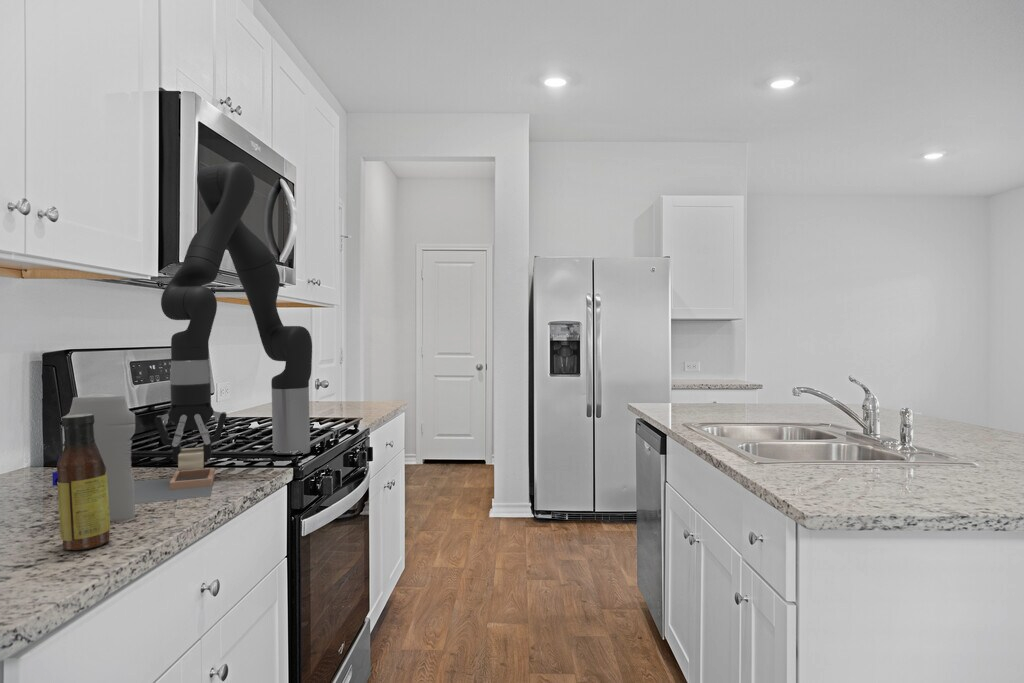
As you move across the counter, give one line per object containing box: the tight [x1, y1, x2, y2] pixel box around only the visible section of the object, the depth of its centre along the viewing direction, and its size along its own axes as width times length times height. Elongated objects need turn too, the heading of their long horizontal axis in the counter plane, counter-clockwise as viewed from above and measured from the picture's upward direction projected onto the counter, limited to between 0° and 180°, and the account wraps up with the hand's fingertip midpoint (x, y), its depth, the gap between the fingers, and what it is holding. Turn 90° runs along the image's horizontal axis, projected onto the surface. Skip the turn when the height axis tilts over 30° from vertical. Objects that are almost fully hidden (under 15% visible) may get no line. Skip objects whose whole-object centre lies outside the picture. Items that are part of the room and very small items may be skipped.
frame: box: [170, 467, 216, 490], centre depth 132 cm, size 11×8×2 cm
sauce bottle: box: [56, 414, 111, 552], centre depth 95 cm, size 7×6×20 cm
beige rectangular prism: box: [177, 446, 206, 471], centre depth 132 cm, size 8×4×3 cm, turn 22°
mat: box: [134, 473, 216, 505], centre depth 127 cm, size 20×16×1 cm
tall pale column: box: [65, 392, 136, 523], centre depth 106 cm, size 11×4×22 cm, turn 106°
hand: (192, 462), depth 132 cm, fingers closed on beige rectangular prism, 4 cm apart
